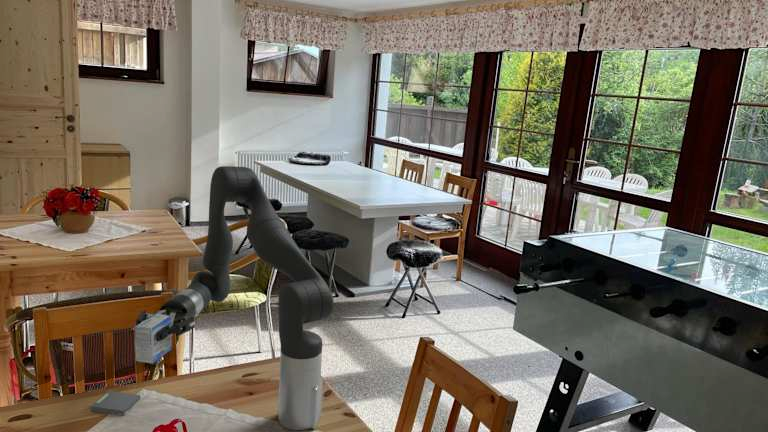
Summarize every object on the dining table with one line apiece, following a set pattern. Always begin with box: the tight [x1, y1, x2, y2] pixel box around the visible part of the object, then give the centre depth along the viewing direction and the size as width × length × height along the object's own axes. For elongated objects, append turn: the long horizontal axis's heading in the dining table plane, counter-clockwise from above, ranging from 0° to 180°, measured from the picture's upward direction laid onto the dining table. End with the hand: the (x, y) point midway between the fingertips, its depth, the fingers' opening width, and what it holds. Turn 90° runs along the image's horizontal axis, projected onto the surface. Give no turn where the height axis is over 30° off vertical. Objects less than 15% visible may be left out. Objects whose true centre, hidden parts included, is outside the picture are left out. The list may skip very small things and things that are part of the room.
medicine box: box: [134, 314, 172, 365], centre depth 137 cm, size 8×4×9 cm, turn 168°
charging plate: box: [90, 390, 141, 416], centre depth 137 cm, size 8×7×1 cm
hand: (147, 335), depth 134 cm, fingers closed on medicine box, 4 cm apart
